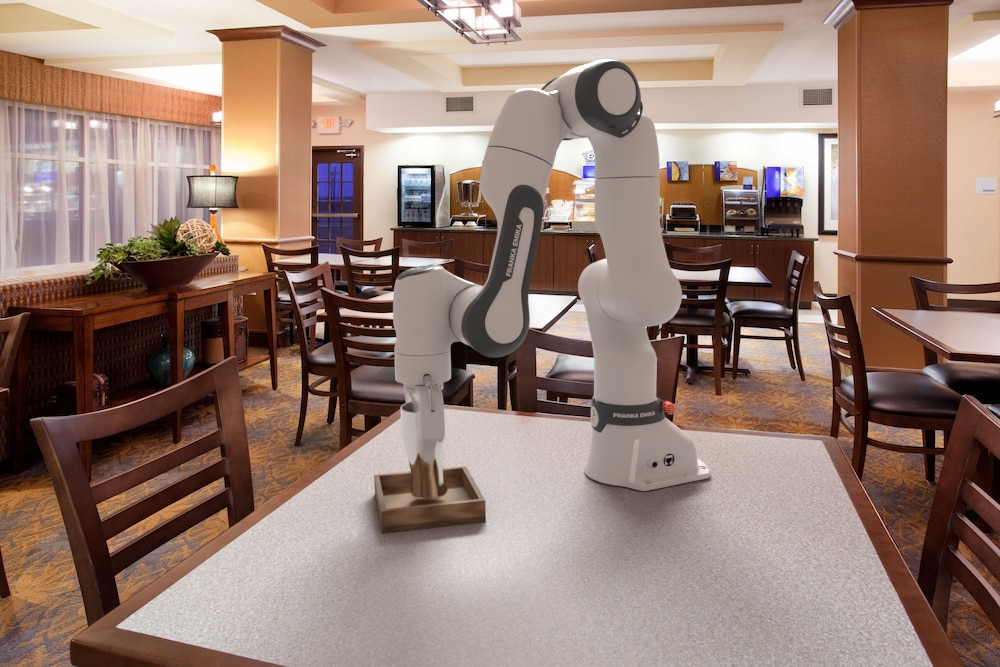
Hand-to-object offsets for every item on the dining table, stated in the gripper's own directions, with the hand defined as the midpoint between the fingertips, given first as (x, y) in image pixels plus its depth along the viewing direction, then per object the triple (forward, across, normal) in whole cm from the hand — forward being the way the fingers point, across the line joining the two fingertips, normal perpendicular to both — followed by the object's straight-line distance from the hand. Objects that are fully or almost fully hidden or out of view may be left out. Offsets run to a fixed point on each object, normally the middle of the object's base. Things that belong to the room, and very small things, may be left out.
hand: (425, 452), depth 117 cm
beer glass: (+7, 0, 0) cm, 7 cm away
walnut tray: (+9, 0, 0) cm, 9 cm away
